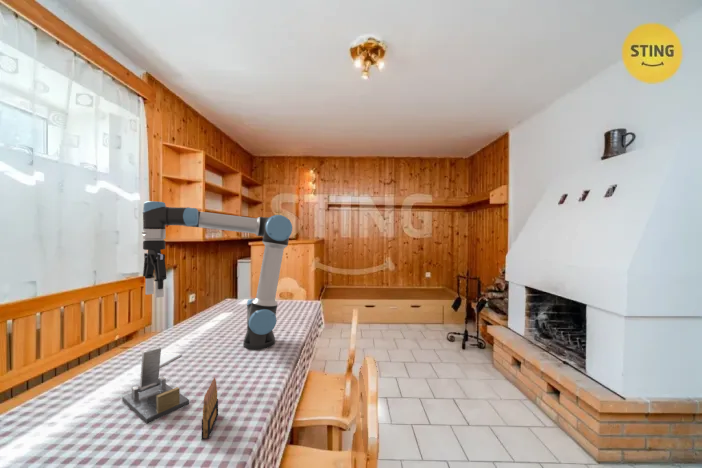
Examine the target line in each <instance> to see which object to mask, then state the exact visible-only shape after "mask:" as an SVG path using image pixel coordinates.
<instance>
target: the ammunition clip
mask: <svg viewBox="0 0 702 468" xmlns="http://www.w3.org/2000/svg"><path fill="white" fill-rule="evenodd" d="M217 388H218V387H217V379H216V378H215V377H213V379H212V380H211V383H210V384H209V387H208V389H206V392H205V394H204V398H203V408H202V419H201V440H209V439H210V437H211V435H212V432H213V429H214V427H215V424H216V421H217V419H218V417H219V398H218V389H217Z"/></svg>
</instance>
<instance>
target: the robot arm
mask: <svg viewBox="0 0 702 468" xmlns="http://www.w3.org/2000/svg"><path fill="white" fill-rule="evenodd" d="M142 208H143V209H142V224H143V225H142V229H143V230H142V231H141V235H142V238H143V241H142V249H143V250H144V251H147V252H144V254H143V257H144V258H143V259H144V261H143V269H142V270H143V271H142V277H144V279H145V295H146V296H149V295H154V298H155V299H157V298H164V292H165V291H164V290H165V289H164V288H165V287H164V283H165V280H166V279H167V269H166V254H165V253H164V254H163V253H162V250H166V241H165V239H167V238H166V236H167V234H166V226H179V227H180V226H183V227H187V228H189V227H190V228H201V229H211V230H220V231H230V232H236V233H237V232H238V233H247V234H255V235H256V237H257V236H258V237H262V244H263V245H264V250H263V256H262V260H261V261H262V262H261V266H260V272H259V278H258V285H257V288H256V289H257V290H256V295H255V298H250V299H248V300H247V302H246V303H247V304H246V309H247V310H246V313H247V314H246V316H247V317H246V319H247V320H246V321H247V322H246V325H247V326H246V328H247V329H246V333H245V336H244V339H243V348H244V349H246V350H250V351H251V350H252V351H258V350H259V351H260V350H265V349H269V348H271V347H273V346H274V345H275V344H276V337H275V335H274V331H273V330H274V329H275V327H276V325H277V316H276V315H277V310H278V302H277V300H276V296H277V290H278V283H279V278H280V273H281V268H282V262H283V256H284V250H285V249H286V248H287V247H288V246H289V239H290V237H291V235H292V233H293V224H292V222H291V221H290V219H289V218H288V217H287V216H284V215H281V214H274V215H271V216H269V217H267V216H259V217H256V218H255V217H247V216H240V215H232V214H231V215H230V214H223V213H218V212H217V213H215V212H207V211H199V210H198V208H195V207H189V206H188V207H173V206H172V207H171V206H166V203H165V202H163V201H155V200H153V201H152V200H149V201H145V202H143V207H142ZM154 275H155V276H154Z"/></svg>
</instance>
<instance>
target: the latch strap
mask: <svg viewBox="0 0 702 468" xmlns="http://www.w3.org/2000/svg"><path fill="white" fill-rule="evenodd" d="M161 352H162V347H160V346H156V347H154V348H150V349H146V350H143V351H142V352H141V353H142V354H141V367H140V368H141V369H140V382H139V383H140V384H139V386H137V387H138V388H139V393H140V392H143V391H146V390H148V389H151V388H154V387H156V386H159V385H160V380H159V378H160V368H161V367H160V356H161V355H162V353H161Z"/></svg>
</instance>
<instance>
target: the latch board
mask: <svg viewBox="0 0 702 468" xmlns="http://www.w3.org/2000/svg"><path fill="white" fill-rule="evenodd" d="M166 379H167V378H165V377H164V376H159V380H160V385H159V386H156V387H154V388H151V389H148V390H146V391H143V392H140V393H139V388H138V387H139V386H137V385H135V386H133V387H131V393H128V394H126V395H122V397H121V398H122V403H124V404H125V406H127V407H128V409H131V411H133V413H135V414H136V416H138V417H139V418H140V419H141V420H142V421H143V422H144V423H145V424H146V425H148V424H149V423H152V422H154V421H157V420H159V419H160V418H163V417H165V416H168V415H170V414H171V413H174V412H176V411H179V410H180V409H182V408H184V407H187V406H188V405H190V399H189V398H188V397H186V396H184V395H183V394H181V393H180V387H178V386H176V387H174V388H173V387H171V386H170V385H168V384H167V380H166Z"/></svg>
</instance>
